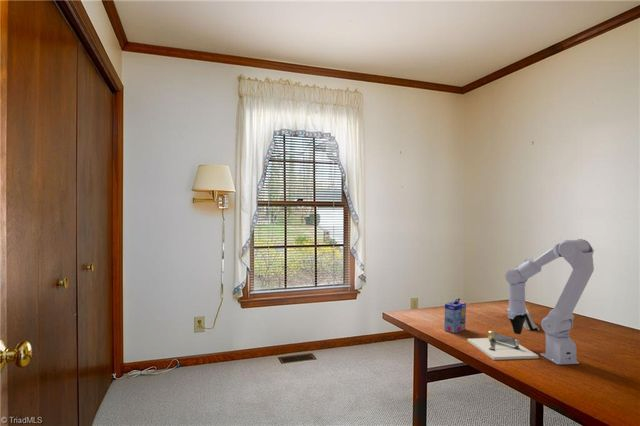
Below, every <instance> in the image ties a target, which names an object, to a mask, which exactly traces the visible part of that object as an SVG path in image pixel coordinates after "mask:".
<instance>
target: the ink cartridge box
mask: <svg viewBox="0 0 640 426" xmlns="http://www.w3.org/2000/svg"><path fill="white" fill-rule="evenodd" d="M460 300H461V298H460V297H459V298H456V299H455V301H451V302H447V303H445V304H444V331H447V332H449V333H452V334H456V333H458V332H462V331H464V330H466V322H467V321H466V318H467V317H466V311H467V308H466V306H467V303H466V302H463V301H460Z"/></svg>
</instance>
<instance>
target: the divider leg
mask: <svg viewBox="0 0 640 426" xmlns="http://www.w3.org/2000/svg"><path fill="white" fill-rule="evenodd" d="M487 338H488V339H490V340H496V341H499V342H502V343H506V344H509V345H513V346H515V347H516V348H519V345H520V340H519V339H518V338H515V337H511V336H507V335H505V334H504V335H503V334H500V333H498V332H497V331H496V330H492V329H491V330H489V329H488V330H487Z"/></svg>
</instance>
